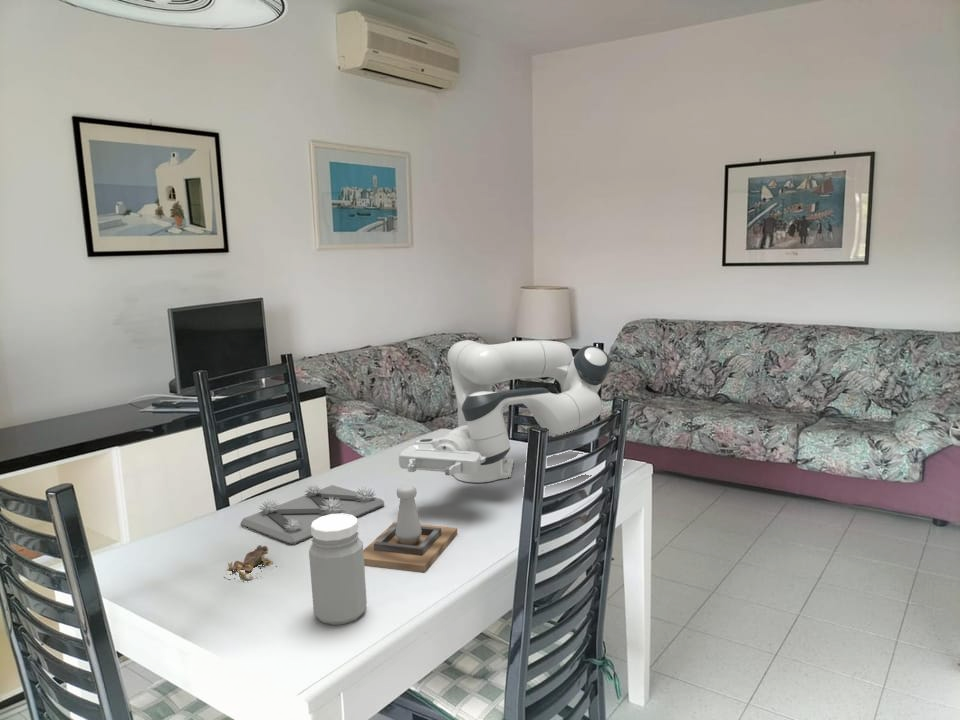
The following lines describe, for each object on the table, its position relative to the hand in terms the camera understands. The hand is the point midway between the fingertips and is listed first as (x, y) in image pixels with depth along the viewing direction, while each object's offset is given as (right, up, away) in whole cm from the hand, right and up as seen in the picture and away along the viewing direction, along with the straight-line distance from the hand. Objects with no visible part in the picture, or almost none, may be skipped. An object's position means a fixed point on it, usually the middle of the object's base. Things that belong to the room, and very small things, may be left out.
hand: (429, 470), depth 166 cm
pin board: (-4, -16, -8) cm, 18 cm away
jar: (-14, -21, -34) cm, 43 cm away
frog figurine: (-37, -19, -14) cm, 44 cm away
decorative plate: (-30, -14, +14) cm, 36 cm away
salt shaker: (-4, -15, -8) cm, 17 cm away
